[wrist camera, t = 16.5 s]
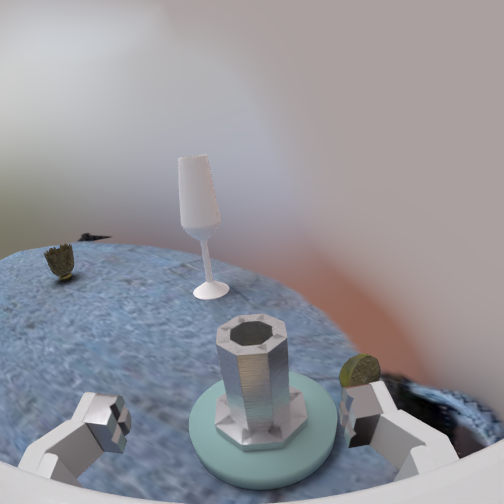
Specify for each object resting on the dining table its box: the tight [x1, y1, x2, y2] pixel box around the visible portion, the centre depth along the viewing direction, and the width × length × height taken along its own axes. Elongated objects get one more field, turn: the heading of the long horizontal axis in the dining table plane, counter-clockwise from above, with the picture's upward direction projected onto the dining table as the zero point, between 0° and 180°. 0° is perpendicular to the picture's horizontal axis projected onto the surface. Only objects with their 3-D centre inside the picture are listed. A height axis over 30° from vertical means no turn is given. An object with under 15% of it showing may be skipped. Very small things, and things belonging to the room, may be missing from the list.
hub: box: [189, 371, 337, 490], centre depth 27 cm, size 14×14×6 cm
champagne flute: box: [178, 155, 229, 299], centre depth 55 cm, size 7×7×24 cm
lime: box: [339, 354, 381, 388], centre depth 31 cm, size 4×5×5 cm
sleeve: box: [215, 314, 308, 452], centre depth 26 cm, size 8×8×10 cm
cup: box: [44, 244, 74, 282], centre depth 68 cm, size 8×7×8 cm
